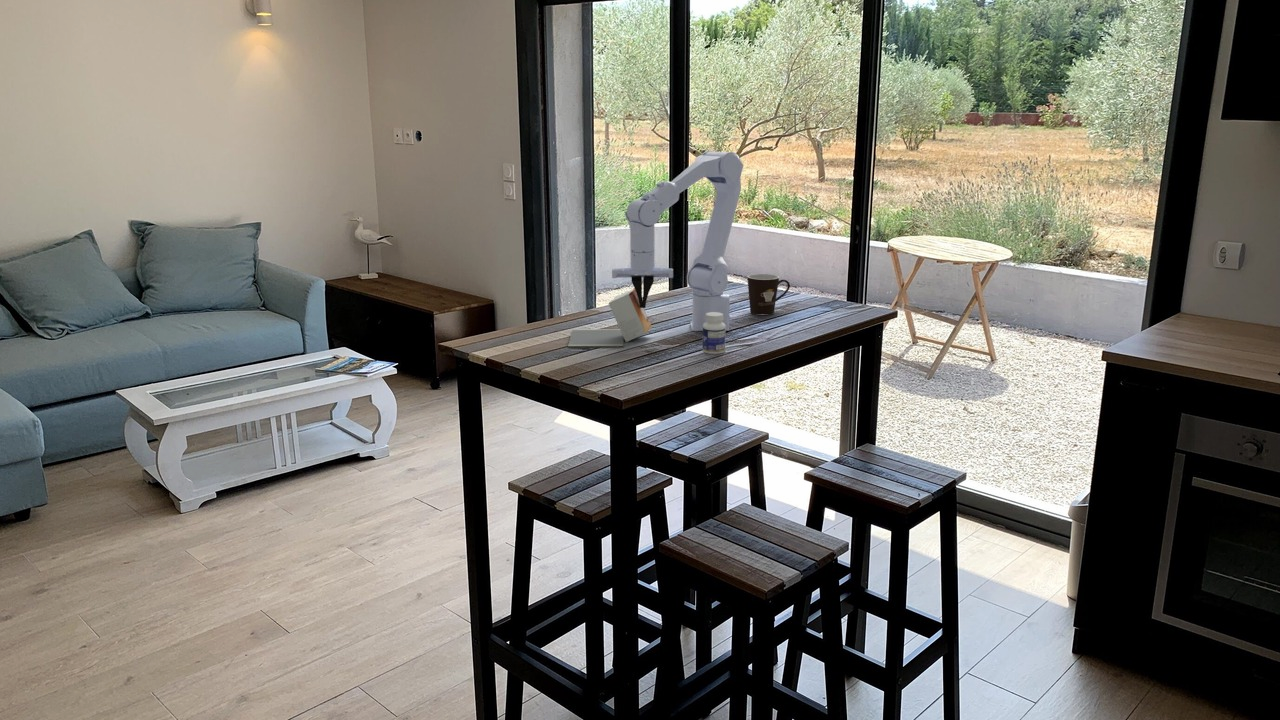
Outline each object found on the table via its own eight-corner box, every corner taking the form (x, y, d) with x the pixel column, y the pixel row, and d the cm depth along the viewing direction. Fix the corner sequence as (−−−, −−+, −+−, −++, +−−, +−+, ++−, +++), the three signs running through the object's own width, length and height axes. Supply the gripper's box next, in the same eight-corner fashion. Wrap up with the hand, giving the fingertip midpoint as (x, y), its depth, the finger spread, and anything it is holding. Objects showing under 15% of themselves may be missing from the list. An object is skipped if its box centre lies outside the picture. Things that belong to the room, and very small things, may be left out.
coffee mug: (746, 315, 249) (747, 279, 246) (746, 309, 257) (747, 273, 254) (789, 316, 248) (791, 280, 245) (788, 309, 256) (790, 274, 253)
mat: (624, 331, 233) (624, 329, 233) (623, 347, 218) (623, 345, 217) (572, 331, 233) (572, 329, 233) (568, 347, 218) (568, 345, 217)
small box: (646, 334, 220) (628, 294, 219) (625, 342, 222) (607, 302, 220) (652, 326, 228) (635, 287, 226) (632, 334, 230) (615, 296, 228)
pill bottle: (702, 348, 216) (702, 311, 214) (724, 348, 216) (725, 311, 214) (702, 354, 211) (703, 316, 209) (725, 354, 211) (726, 316, 209)
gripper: (611, 253, 216) (612, 310, 219) (673, 253, 216) (673, 310, 219) (612, 249, 222) (612, 304, 226) (672, 248, 222) (672, 304, 226)
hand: (642, 307), depth 223 cm, fingers closed
